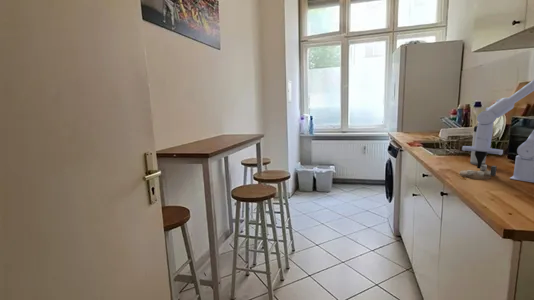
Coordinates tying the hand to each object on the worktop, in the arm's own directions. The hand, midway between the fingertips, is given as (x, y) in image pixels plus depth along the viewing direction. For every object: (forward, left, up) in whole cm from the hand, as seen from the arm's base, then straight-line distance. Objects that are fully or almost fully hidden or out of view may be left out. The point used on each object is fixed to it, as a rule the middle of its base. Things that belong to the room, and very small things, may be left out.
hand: (479, 168), depth 129 cm
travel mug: (+6, -22, -3) cm, 23 cm away
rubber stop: (-5, 0, -2) cm, 6 cm away
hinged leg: (-2, +2, -1) cm, 3 cm away
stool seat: (-1, +7, -2) cm, 7 cm away
